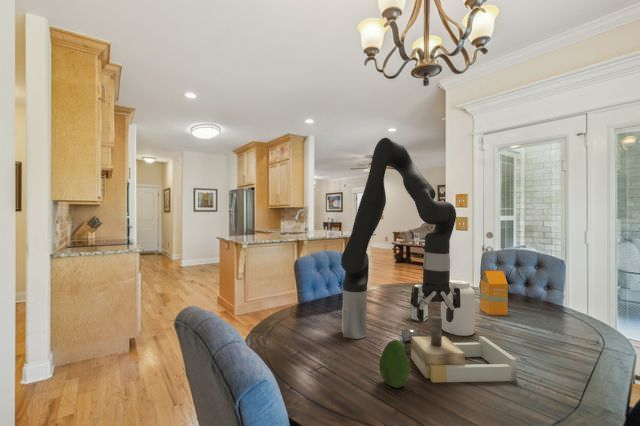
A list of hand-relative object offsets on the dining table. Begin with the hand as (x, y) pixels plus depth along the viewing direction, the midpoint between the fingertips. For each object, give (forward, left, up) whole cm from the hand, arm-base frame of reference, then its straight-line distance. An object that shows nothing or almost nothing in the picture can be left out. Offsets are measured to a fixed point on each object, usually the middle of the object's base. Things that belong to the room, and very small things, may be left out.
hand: (434, 321), depth 92 cm
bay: (+8, 0, -14) cm, 16 cm away
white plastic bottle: (+22, +29, -14) cm, 39 cm away
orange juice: (+51, +51, -14) cm, 74 cm away
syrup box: (+12, +43, -14) cm, 47 cm away
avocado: (-15, -9, -14) cm, 22 cm away
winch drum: (-3, +12, -14) cm, 19 cm away
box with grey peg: (+1, 0, -14) cm, 14 cm away
